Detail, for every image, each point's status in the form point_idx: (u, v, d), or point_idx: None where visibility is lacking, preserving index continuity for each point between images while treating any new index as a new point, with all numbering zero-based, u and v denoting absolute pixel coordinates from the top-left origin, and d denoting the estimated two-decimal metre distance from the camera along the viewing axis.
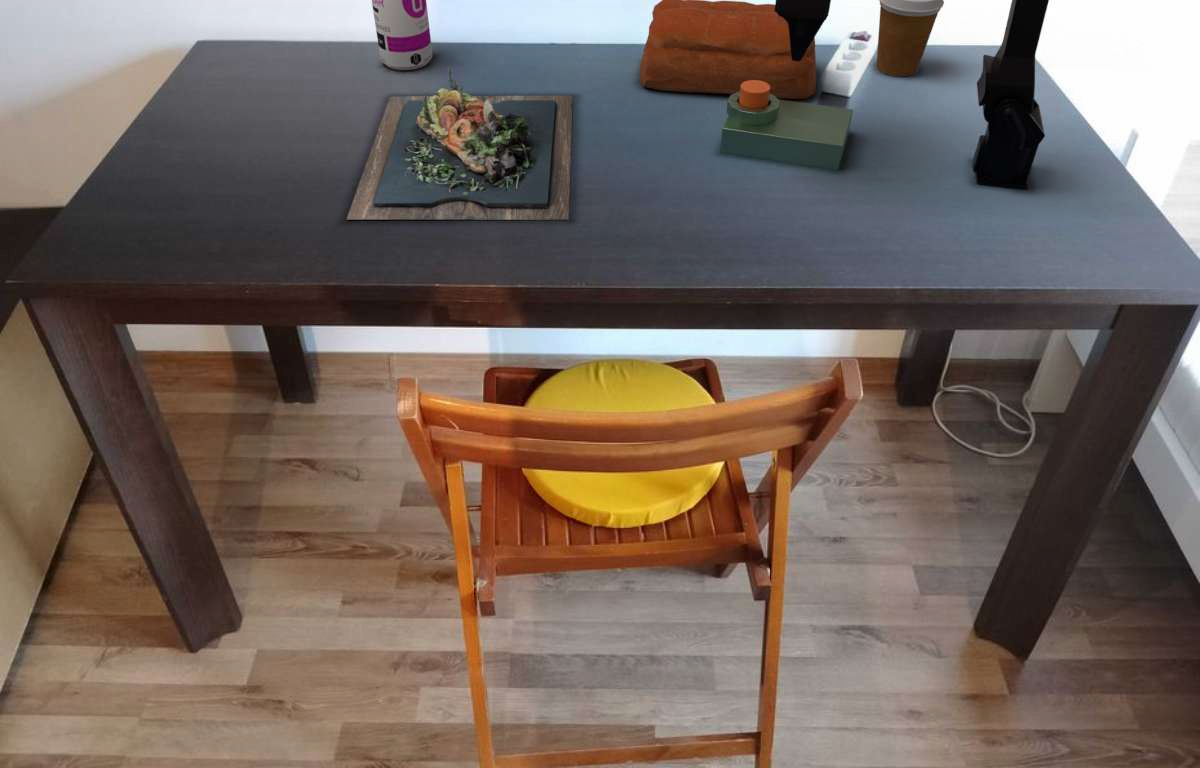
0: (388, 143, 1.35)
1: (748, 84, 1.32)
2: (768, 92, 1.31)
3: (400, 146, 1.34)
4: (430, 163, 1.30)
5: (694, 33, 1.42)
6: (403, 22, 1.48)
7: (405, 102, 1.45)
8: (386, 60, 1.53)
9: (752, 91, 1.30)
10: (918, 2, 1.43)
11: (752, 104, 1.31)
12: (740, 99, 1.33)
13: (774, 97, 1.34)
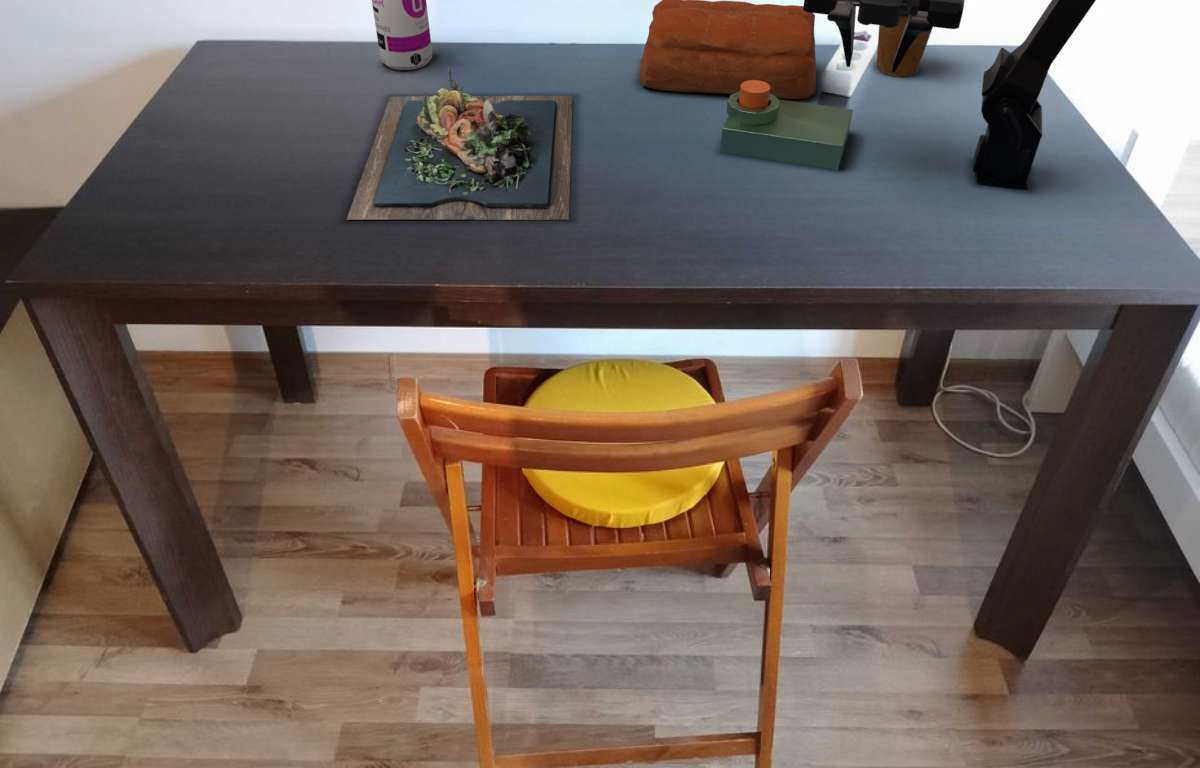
0: (388, 143, 1.35)
1: (748, 84, 1.32)
2: (768, 92, 1.31)
3: (400, 146, 1.34)
4: (430, 163, 1.30)
5: (694, 33, 1.42)
6: (403, 22, 1.48)
7: (405, 102, 1.45)
8: (386, 60, 1.53)
9: (752, 91, 1.30)
10: None
11: (752, 104, 1.31)
12: (740, 99, 1.33)
13: (774, 97, 1.34)
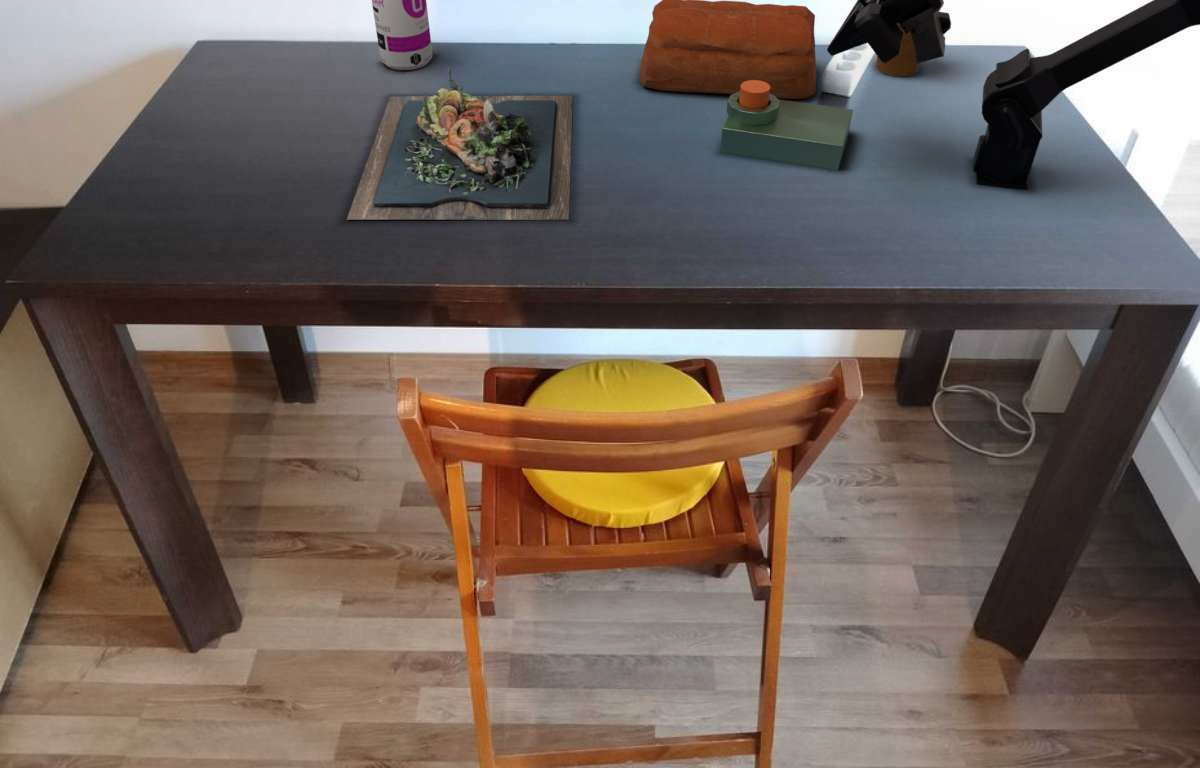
0: (388, 143, 1.35)
1: (748, 84, 1.32)
2: (768, 92, 1.31)
3: (400, 146, 1.34)
4: (430, 163, 1.30)
5: (694, 33, 1.42)
6: (403, 22, 1.48)
7: (405, 102, 1.45)
8: (386, 60, 1.53)
9: (752, 91, 1.30)
10: None
11: (752, 104, 1.31)
12: (740, 99, 1.33)
13: (774, 97, 1.34)
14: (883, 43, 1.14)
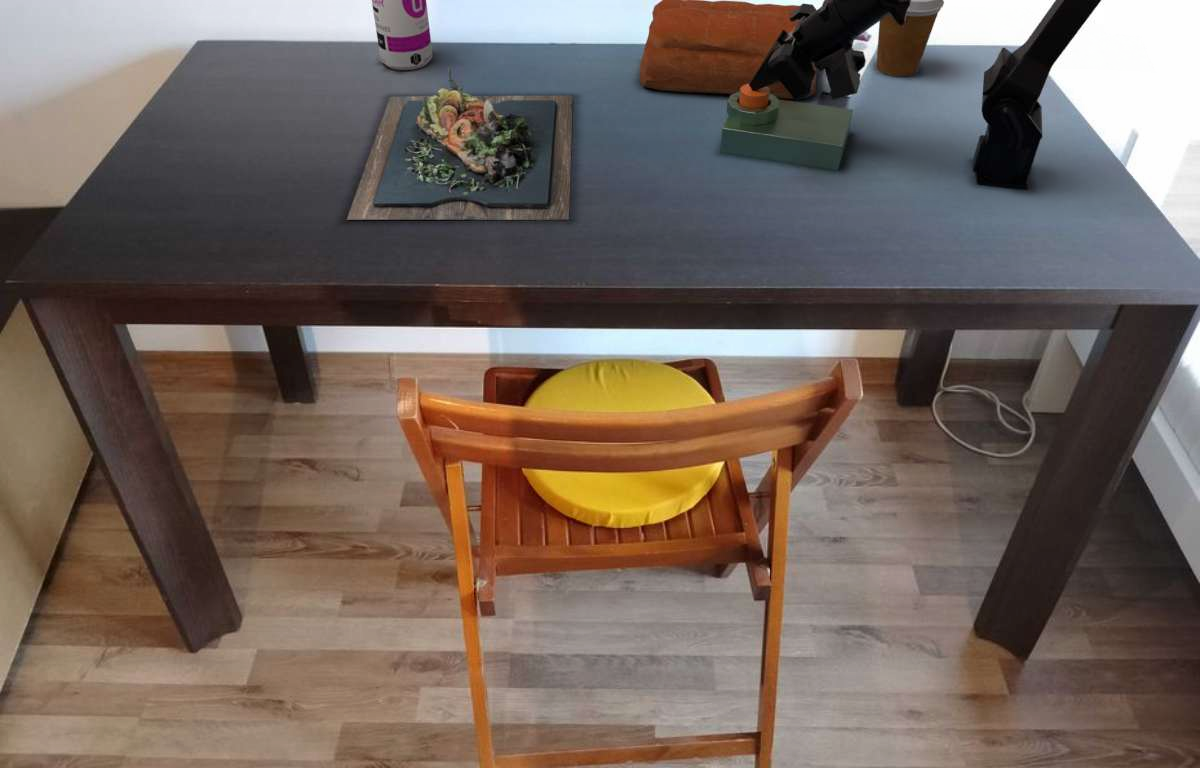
0: (388, 143, 1.35)
1: (748, 87, 1.33)
2: (768, 95, 1.32)
3: (400, 146, 1.34)
4: (430, 163, 1.30)
5: (694, 33, 1.42)
6: (403, 22, 1.48)
7: (405, 102, 1.45)
8: (386, 60, 1.53)
9: (752, 95, 1.31)
10: (918, 2, 1.43)
11: (751, 107, 1.32)
12: (740, 102, 1.33)
13: (774, 97, 1.34)
14: (795, 82, 1.20)
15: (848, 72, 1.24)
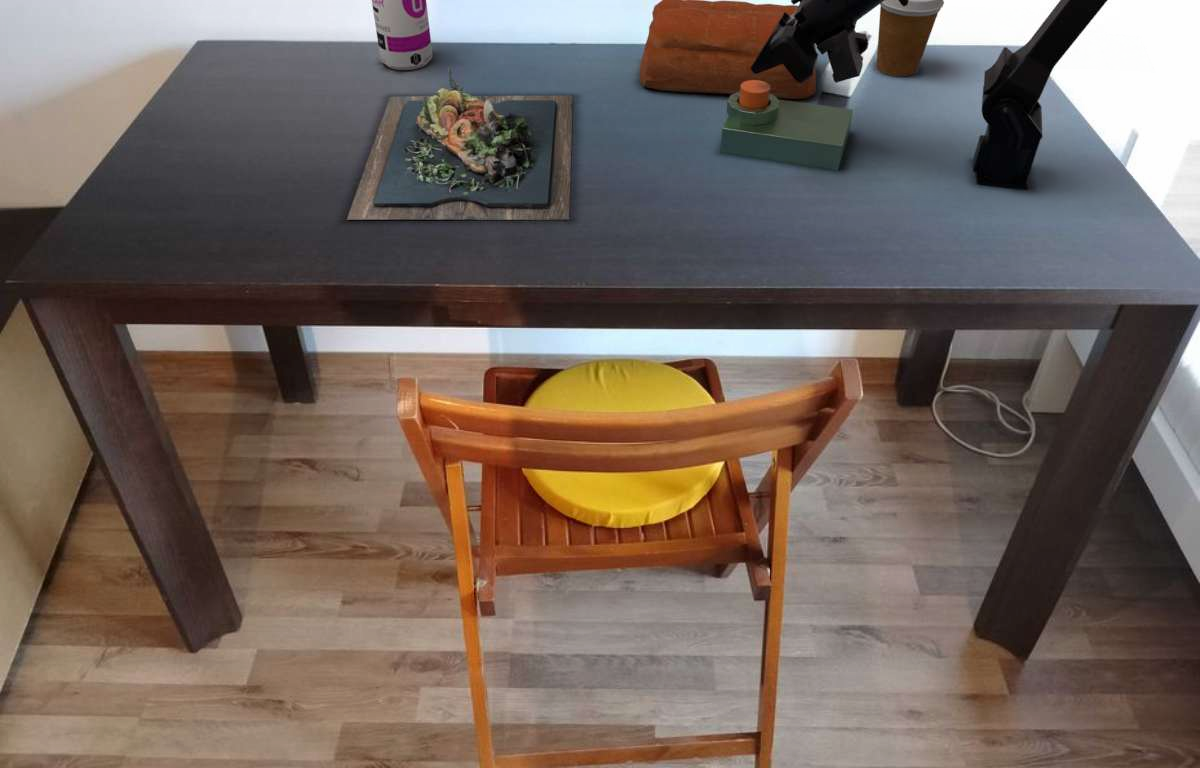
0: (388, 143, 1.35)
1: (748, 84, 1.32)
2: (768, 92, 1.31)
3: (401, 146, 1.34)
4: (430, 163, 1.30)
5: (694, 33, 1.42)
6: (403, 22, 1.48)
7: (405, 102, 1.45)
8: (386, 60, 1.53)
9: (752, 91, 1.30)
10: (918, 2, 1.43)
11: (752, 104, 1.31)
12: (740, 99, 1.33)
13: (774, 97, 1.34)
14: (797, 64, 1.19)
15: (851, 54, 1.23)
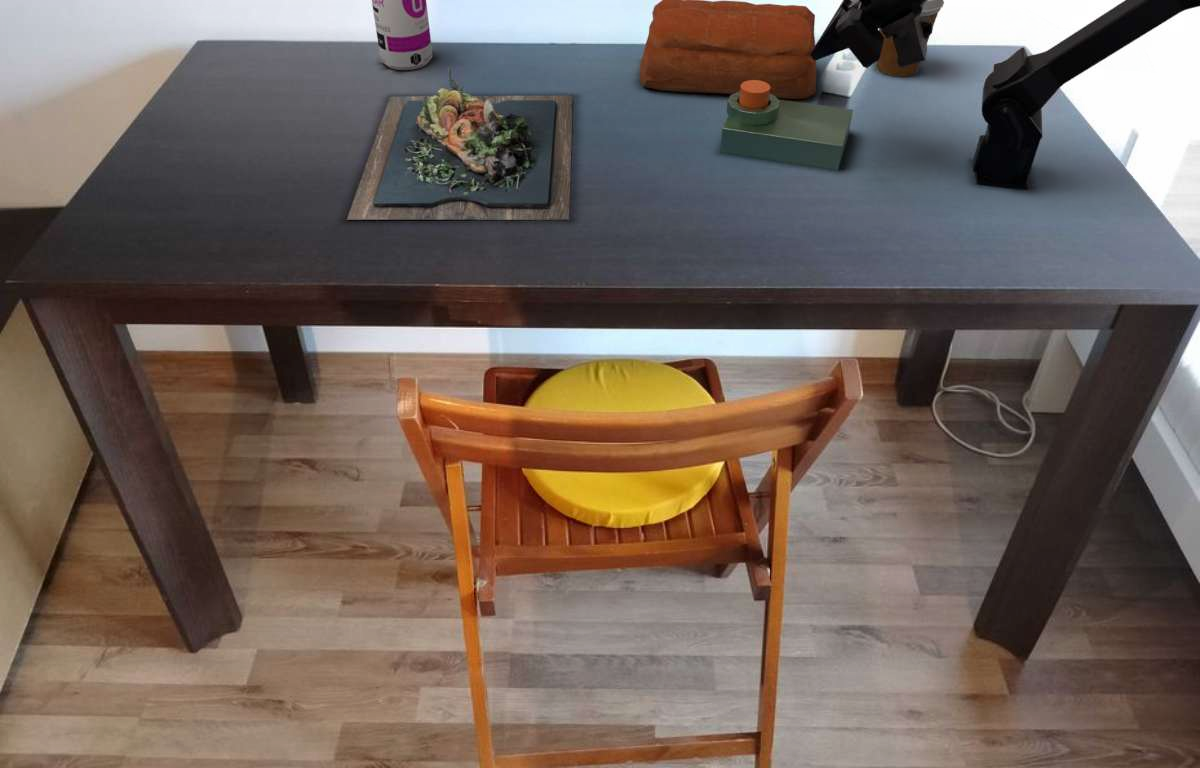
0: (388, 143, 1.35)
1: (748, 84, 1.32)
2: (768, 92, 1.31)
3: (401, 146, 1.34)
4: (430, 163, 1.30)
5: (694, 33, 1.42)
6: (403, 22, 1.48)
7: (405, 102, 1.45)
8: (386, 60, 1.53)
9: (752, 91, 1.30)
10: None
11: (752, 104, 1.31)
12: (740, 99, 1.33)
13: (774, 97, 1.34)
14: (864, 48, 1.15)
15: (917, 38, 1.19)
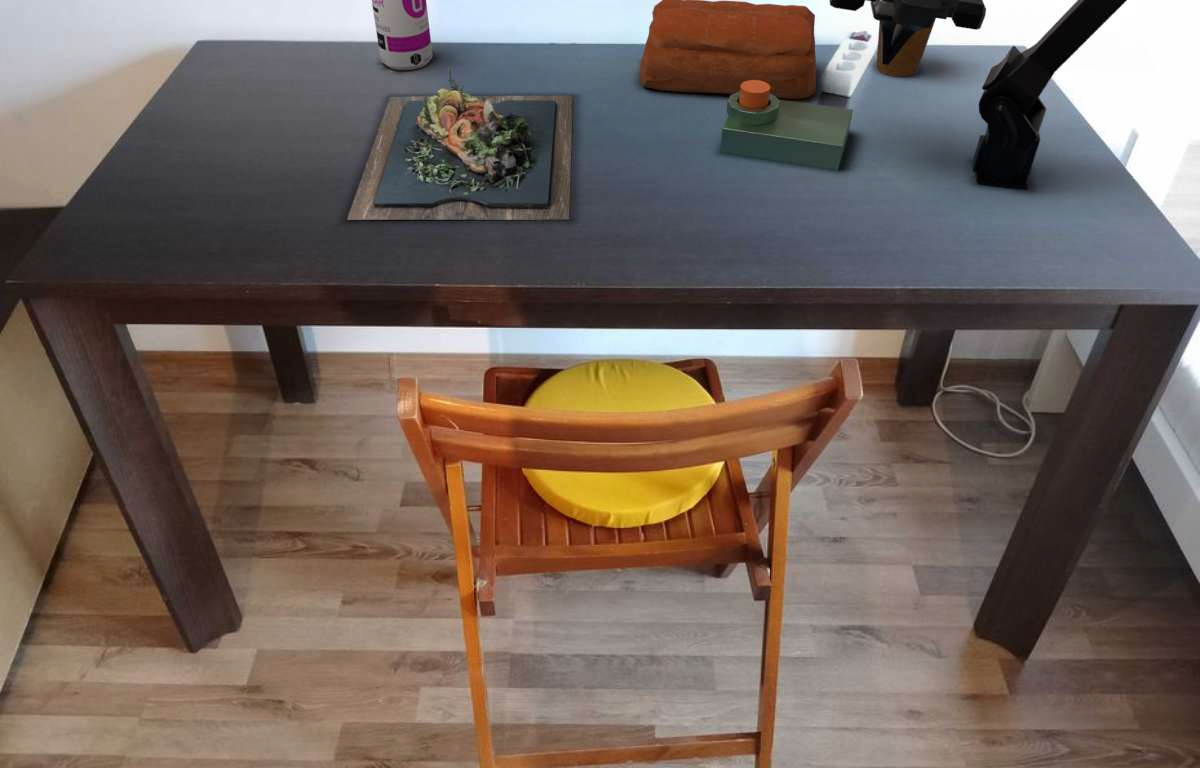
0: (388, 143, 1.35)
1: (748, 84, 1.32)
2: (768, 92, 1.31)
3: (401, 146, 1.34)
4: (430, 163, 1.30)
5: (694, 33, 1.42)
6: (403, 22, 1.48)
7: (405, 102, 1.45)
8: (386, 60, 1.53)
9: (752, 91, 1.30)
10: None
11: (752, 104, 1.31)
12: (740, 99, 1.33)
13: (774, 97, 1.34)
14: None
15: None
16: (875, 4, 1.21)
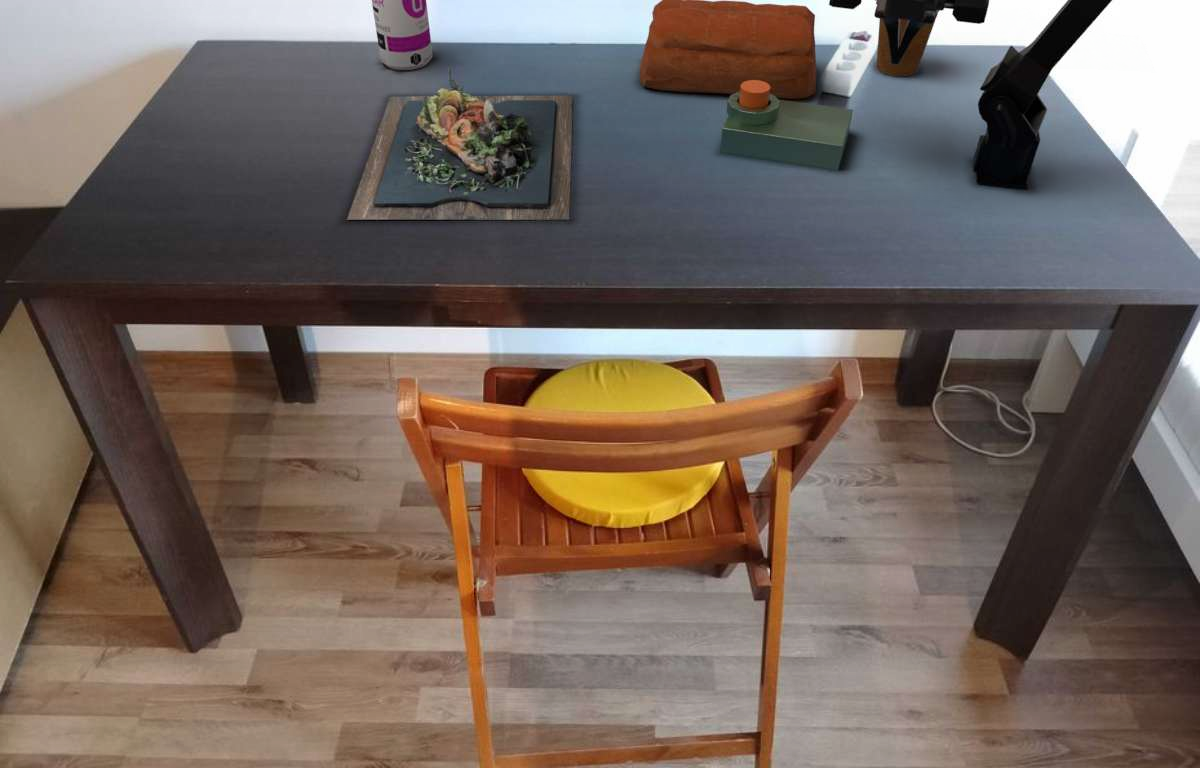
0: (388, 143, 1.35)
1: (748, 84, 1.32)
2: (768, 92, 1.31)
3: (401, 146, 1.34)
4: (430, 163, 1.30)
5: (694, 33, 1.42)
6: (403, 22, 1.48)
7: (405, 102, 1.45)
8: (386, 60, 1.53)
9: (752, 91, 1.30)
10: None
11: (752, 104, 1.31)
12: (740, 99, 1.33)
13: (774, 97, 1.34)
14: None
15: None
16: (877, 2, 1.22)
